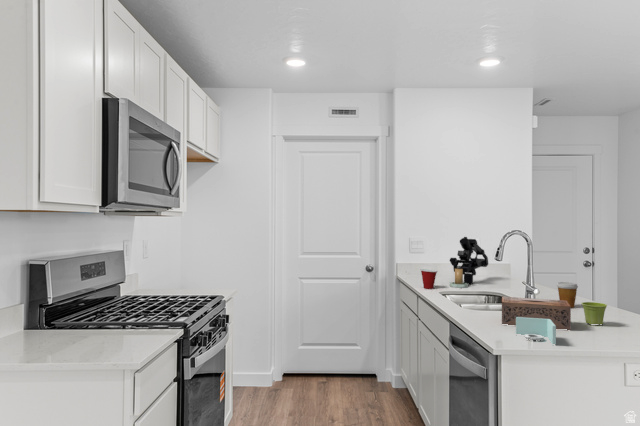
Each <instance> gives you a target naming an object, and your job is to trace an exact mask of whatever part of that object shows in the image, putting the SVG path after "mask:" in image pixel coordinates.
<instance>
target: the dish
mask: <svg viewBox="0 0 640 426" xmlns="http://www.w3.org/2000/svg"><path fill="white" fill-rule="evenodd" d="M449 286H450V288H455V289H456V288H457V289H465V288H468V287H469V284H467V283H464V282H463V284H455V281H452V282H449Z"/></svg>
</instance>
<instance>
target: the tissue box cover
mask: <svg viewBox="0 0 640 426" xmlns="http://www.w3.org/2000/svg"><path fill="white" fill-rule="evenodd" d="M571 311H572V308H571V306H570V305H569V304H568V302H567V301H564V300H559V299H549V298H547V299H546V298H545V299H544V298H529V297H516V296H515V297H512V296H502V297H501V325H502V324H508V325H516V317H524V318H540V319H550V320H551V321H552V322H553V323H554V324H555V326H556V329H567V330H566V331H568V330H571V329H572V328H571V323H572V322H571V321H572V317H571Z"/></svg>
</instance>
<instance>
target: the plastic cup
mask: <svg viewBox="0 0 640 426" xmlns="http://www.w3.org/2000/svg"><path fill="white" fill-rule="evenodd" d="M420 273H421V278H422V284H423V288H425V289H424V290H433V289H434V286H435V281H436V276H437V273H438V270H435V269H434V270H433V269H427V268H426V269H422V268H421V269H420Z"/></svg>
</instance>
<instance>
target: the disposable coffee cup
mask: <svg viewBox="0 0 640 426" xmlns="http://www.w3.org/2000/svg"><path fill="white" fill-rule="evenodd" d="M556 287H557V291H558V292H557V293H558V300H564V301H567V302H568V304H569V305H570V306H571V309H574V308H575V305H576V299H577V289H578V287H579V286H578V284H577V283H575V282H568V281H566V282H563V281H560V282H557V284H556Z"/></svg>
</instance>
